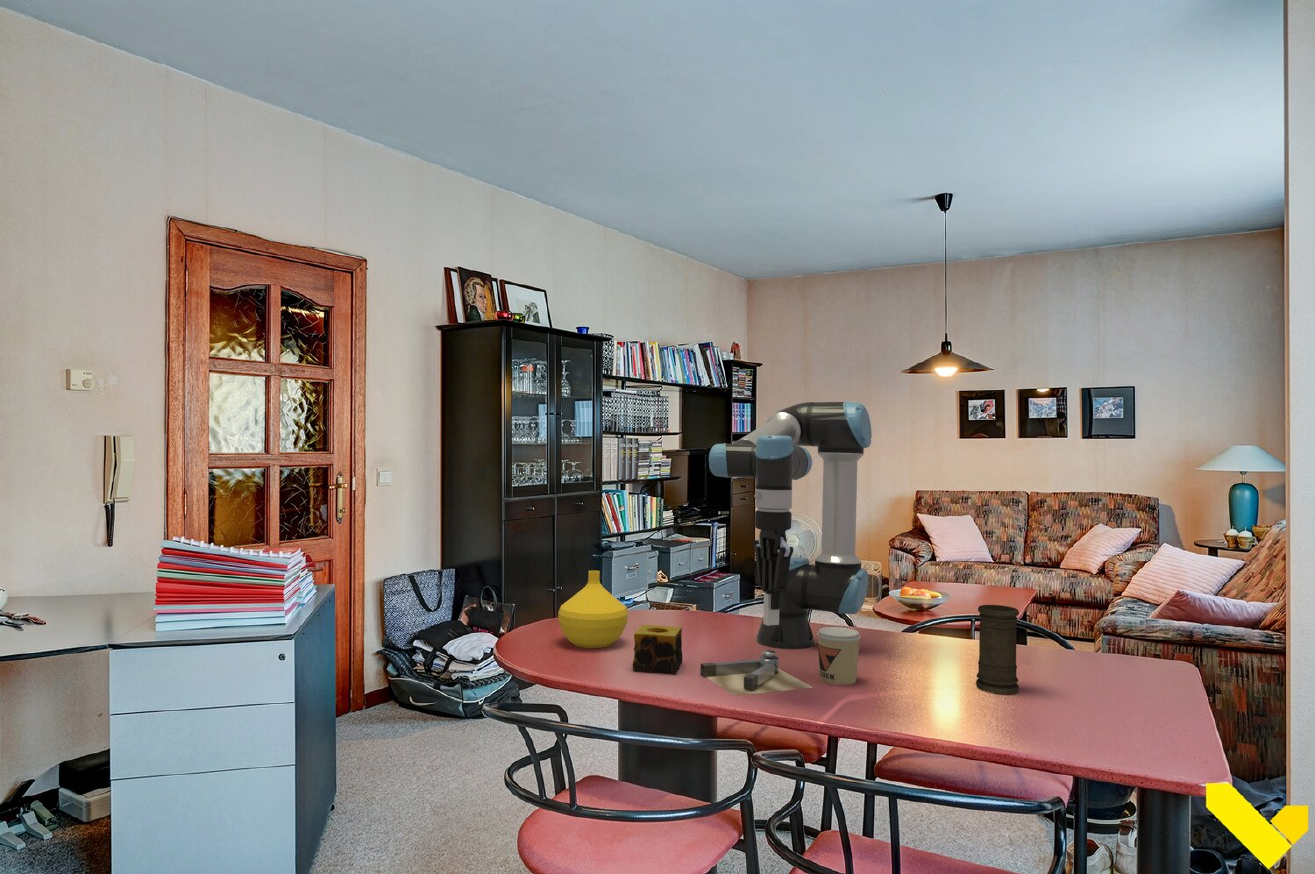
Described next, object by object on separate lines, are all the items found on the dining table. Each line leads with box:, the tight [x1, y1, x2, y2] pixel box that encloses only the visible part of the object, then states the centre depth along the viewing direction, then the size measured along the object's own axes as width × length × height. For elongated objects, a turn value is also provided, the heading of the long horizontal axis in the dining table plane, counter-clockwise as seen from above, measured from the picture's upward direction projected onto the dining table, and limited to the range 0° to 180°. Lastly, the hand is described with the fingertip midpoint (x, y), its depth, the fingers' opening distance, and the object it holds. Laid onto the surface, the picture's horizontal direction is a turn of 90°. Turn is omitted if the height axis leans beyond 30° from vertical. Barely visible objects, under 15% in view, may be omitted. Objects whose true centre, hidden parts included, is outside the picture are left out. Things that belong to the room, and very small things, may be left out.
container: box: [975, 604, 1020, 695], centre depth 182 cm, size 9×9×18 cm
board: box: [706, 668, 814, 697], centre depth 181 cm, size 19×17×1 cm
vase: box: [557, 570, 629, 649], centre depth 215 cm, size 18×18×19 cm
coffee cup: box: [816, 626, 861, 686], centre depth 182 cm, size 9×9×12 cm
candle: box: [632, 624, 684, 676], centre depth 190 cm, size 10×10×10 cm
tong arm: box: [744, 649, 777, 690], centre depth 181 cm, size 18×4×4 cm, turn 151°
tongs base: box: [699, 655, 780, 678], centre depth 185 cm, size 18×5×3 cm, turn 111°
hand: (771, 624), depth 169 cm, fingers closed
